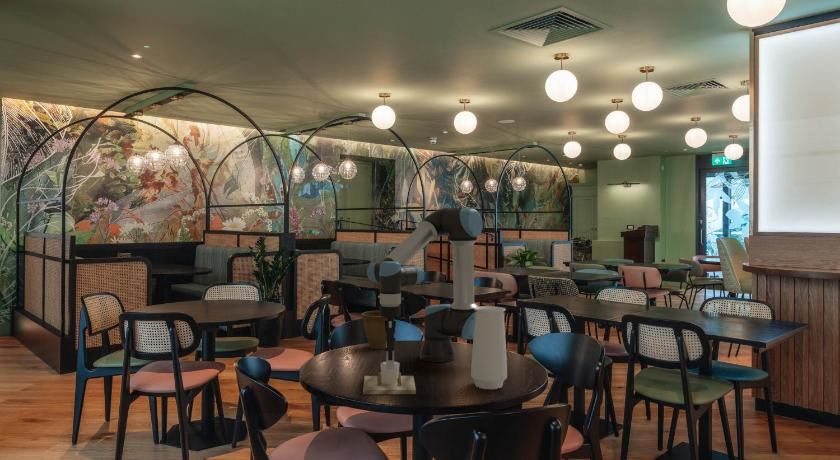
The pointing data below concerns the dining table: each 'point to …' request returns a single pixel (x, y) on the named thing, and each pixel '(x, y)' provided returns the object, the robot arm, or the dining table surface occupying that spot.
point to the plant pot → (375, 329)
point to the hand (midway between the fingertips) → (390, 364)
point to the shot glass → (389, 373)
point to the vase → (489, 348)
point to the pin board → (377, 387)
